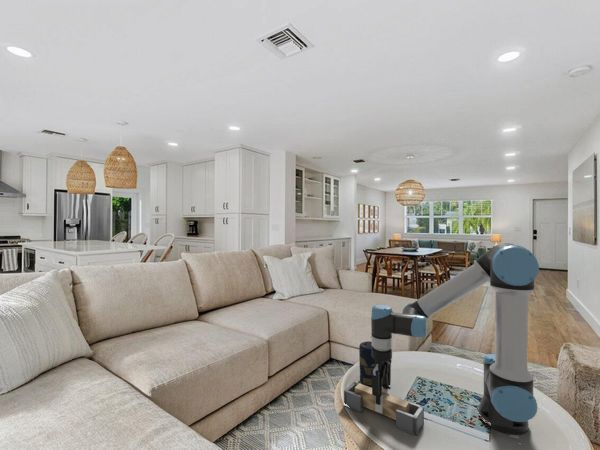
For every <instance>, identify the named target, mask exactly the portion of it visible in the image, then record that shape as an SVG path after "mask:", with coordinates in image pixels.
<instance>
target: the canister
mask: <svg viewBox="0 0 600 450" xmlns="http://www.w3.org/2000/svg"><path fill="white" fill-rule="evenodd" d="M371 347H372V341H370V340H369V341H368V340H367V341H363V342H361V343H360V344H359V349H358V350H359V361H358V363H359V380H360V382H361V384H362V383H363V385H365V386H371V387H372V374H371V369H374V368H375V359H374V358H372V356H371Z"/></svg>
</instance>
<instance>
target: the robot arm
mask: <svg viewBox="0 0 600 450" xmlns="http://www.w3.org/2000/svg"><path fill="white" fill-rule="evenodd" d="M539 269H540V267H539V261H538V259H537V258H536V256H535V255H534V253H532V252H531V251H530V250H529V249H527V248H526V247H524V246H521V245H517V244H514V243H507V242H504V243H499V244H496V245H495V246H492V247H491V248H489V250H487V251H486V252H484V253H483V254H482V255H480V256H479V257H478V258H476V259H474V261H473V264H472V265H470V266H468V267H467V268H465V269H464V270H463V271H461V272H459V273H458V274H456V275H454V276H453V277H451V278H450V279H449V280H447V281H445V282H444V283H442V284H440V285H438V287H436V288H434V289H432V290H430V291H429V292H428V293H426V294H424V295H423V296H422V297H419V298H418V299H417V300H415V301H414V302H413V303H408V304H407V305H405V306H404V308H403V310H402V312H401V313H400V312H395V311H394V312H393V307H391V306H390V305H386V304H376V305H373V306H372V307H371V318H370V319H371V320H370V322H371V336H370V339H371V342H372V347H371V356H372V358H374V359H375V368H374V369H371V374H372V386H371V388H372V395H374V396H375V411H374V412H376V413H378V412H379V414H380V413H381V415H383V414H382V413H383V395H382V392H384V393H387V394H389V390H391V389H392V387H391V381H392V379H391V376H392V374H391V373H392V372H391V371H392V359H393V349H392V348H393V334H394V335H400V336H407V337H413V338H422V339H423V338H426V337H427V323H428V320H427V319H428V318H430V317H432V316H434V315H436V314H437V313H439V312H440V311H441V310H443V309H446V308H447V307H448V306H450V305H451V304H453V303H455V302H457V301H458V300H460V299H461V298H464V297H465V296H466V295H469V294H470V293H471V292H473V291H475V290H477V289H478V288H480V287H481V286H483V285H485V284H486V283H488V282H489V283H490V284H489V285H490V287H492V289H493V290H494V291H495V304H494V305H495V309H494V310H495V313H494V314H495V316H494V319H495V324H494V325H495V328H494V329H495V330H494V331H495V332H494V333H495V334H494V340H495V341H494V343H495V344H494V353H488V354H485V355H484V356H483V362H482V364H483V395H482V398H481V400H480V402H479V405H478V408H477V409H478V410H477V412H479V414H480V415H481V417H483V418H484V419H485V420H487V421H488V422H490V423H491V427H490V428H491V429H494V430H496V431H498V432H500V433H501V432H502V433H505V434H509V435H523V434H526V433H527V432H528V431H529V420H532V419H534V418H535V416H536V415H537V413H538V402H537V399H536V398H535V396H534V375H533V373H531V372H530V371H529V370H528V342H529V341H528V336H529V334H528V333H529V332H528V330H529V327H528V326H529V318H528V316H529V294H531V293H532V292H533V291H535V279H536V277H537V276H538V274H539V271H540V270H539Z"/></svg>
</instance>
